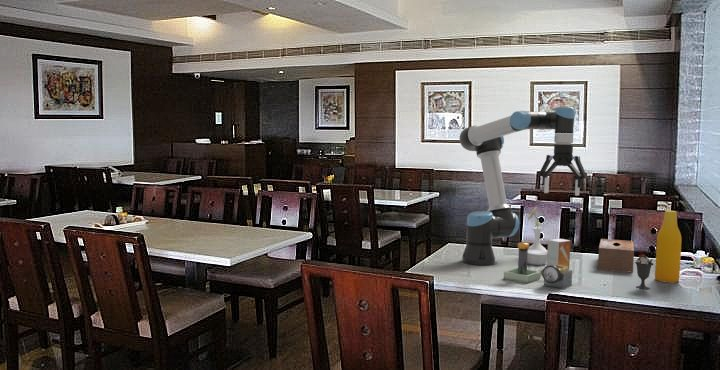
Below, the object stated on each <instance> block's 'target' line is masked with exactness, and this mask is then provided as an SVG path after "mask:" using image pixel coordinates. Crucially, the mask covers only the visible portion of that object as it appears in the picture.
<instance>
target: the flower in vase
mask: <svg viewBox="0 0 720 370" xmlns="http://www.w3.org/2000/svg"><path fill="white" fill-rule="evenodd" d="M537 209H538V206H537V205H536V206H534V208H533V209H532V210H531V213H529V216H528V217H527V221H530V220H531V219H532V218H533V217H534V218H535V219H536V221H535V222H534V224H535V226H534V227H531V228H532V230H533V232H534V242H533V244H531V245H529V249H528V250H542V251H547V252H548V249H546V247H544V246H543V245H542V243H540V242H541V241H540V238H541V233H542V232H543V230H544V228H542V227H539V226H541V223H540V222H539V221H538V218H537V215H536V212H537Z"/></svg>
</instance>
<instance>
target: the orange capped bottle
mask: <svg viewBox="0 0 720 370" xmlns="http://www.w3.org/2000/svg"><path fill="white" fill-rule="evenodd" d="M529 247H530V242H524V241H523V242H518V243H517V249H518V258H517V259H518V260H517V262H518V263H517V264H518V265H517V268H518V274H522V275H527V269H528V263H527V257H528V249H529Z"/></svg>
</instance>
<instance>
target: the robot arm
mask: <svg viewBox="0 0 720 370" xmlns="http://www.w3.org/2000/svg"><path fill="white" fill-rule="evenodd" d="M574 126H575V109H574V107H572V106H558V107H556V108H555V111H530V110H529V111H526V110H519V111H514V112H513V113H512V114H510V115H509V116H505V117H503V118H499V119H497V120H493V121H490V122H488V123H485V124H481V125H470V126H468V127H465V128H464V129H463V130H461V132H460V135H459V143H460V146H461V147H462V148H463V149H465V151H469V152H476V157H477V158H478V159H480V161H481V169H482V174H483V180H484V186H485V191H486V196H487V202H488V209H487V210H477V211H476V210H475V211H472V212H470V213H468V215H467V217H466V245H465V248H464V251H463V253H462V256H461V261H462V263H464V264H467V263H468V264H467V265H473V264H474V266H490V265H494V264H495V263H496V256H495V253H494V249H493V247H492V246H493V244H492V243H493V239H499V238H506V239H507V238H509V237H512V236H515V235H516V233H517V232H518V230H519V227H520V220H519V216H518V214H516V213H515V212H513V210H512V207H511V206H510V205H509V204H508V201H507V200H508V199H507V197H506V196H507V195H506V191H505V185H504V179H503V173H502V168H501V163H500V157H499V156H500V155H501V153H502V150H501V149H503V147H504V144H505V137H504V136H508V135H510V134H514V133H517V132H521V131H525V130H541V131H543V130H545V131H546V130H549V131H550V130H554V140H553V141H554V143H555V144H554V146H553V155H552V154H546V157H545V161H544V163H543V165H542V167H541V168H540V171H539V173H538V176H540V177H541V178H542V185H543V186H544V189H543V193H544V194H549V193H550V190H549V189H550V177H549V176H550V175H551V173H552V172H553V171H554V170H555V169H556V168H557V167H558V166H559V167H561V166H562V167H567V168H569V169H570V171H571V172H572V174H573V175H574V176H575V177H576V179H575V185H574V187H575V188H574V196H576V197H577V196H580V188H582V187H583V180H584V179H587V177H588V175H587V174H586V171H585V169H584V167H583V166H584V165H583V164H582V161H581V156H580V155H575V156H574V155H573V153H574V145H573V143H574V129H575V128H574ZM552 160H553V163H551V161H552ZM572 161H574V162H575V165H576V167H575V165H574V164H573V162H572ZM550 164H551V165H550ZM549 165H550V166H549Z"/></svg>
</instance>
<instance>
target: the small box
mask: <svg viewBox="0 0 720 370" xmlns="http://www.w3.org/2000/svg"><path fill="white" fill-rule="evenodd" d="M571 243H572V242H571V240H569V239H566V238H565V239H564V238H552V239H548V240H547V251H548V252H547V263H546V266H549V265H561V266H567V267H569V268H570V260H571V259H570V258H571Z"/></svg>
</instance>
